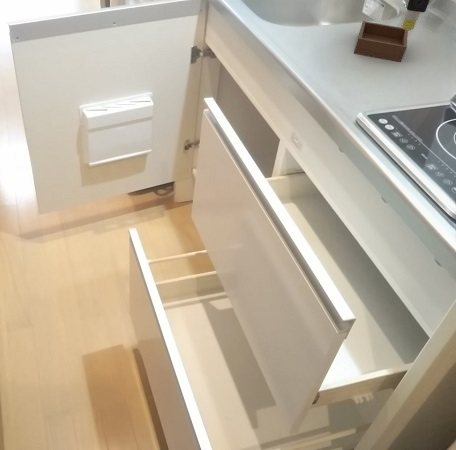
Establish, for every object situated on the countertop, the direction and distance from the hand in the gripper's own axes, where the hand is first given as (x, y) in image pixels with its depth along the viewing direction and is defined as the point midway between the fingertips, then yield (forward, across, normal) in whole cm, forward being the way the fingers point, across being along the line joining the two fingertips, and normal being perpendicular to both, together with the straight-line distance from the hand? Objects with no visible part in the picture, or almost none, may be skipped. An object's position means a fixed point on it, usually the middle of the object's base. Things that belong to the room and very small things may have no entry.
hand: (416, 4), depth 95 cm
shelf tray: (+17, +21, +3) cm, 27 cm away
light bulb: (+5, 0, 0) cm, 5 cm away
